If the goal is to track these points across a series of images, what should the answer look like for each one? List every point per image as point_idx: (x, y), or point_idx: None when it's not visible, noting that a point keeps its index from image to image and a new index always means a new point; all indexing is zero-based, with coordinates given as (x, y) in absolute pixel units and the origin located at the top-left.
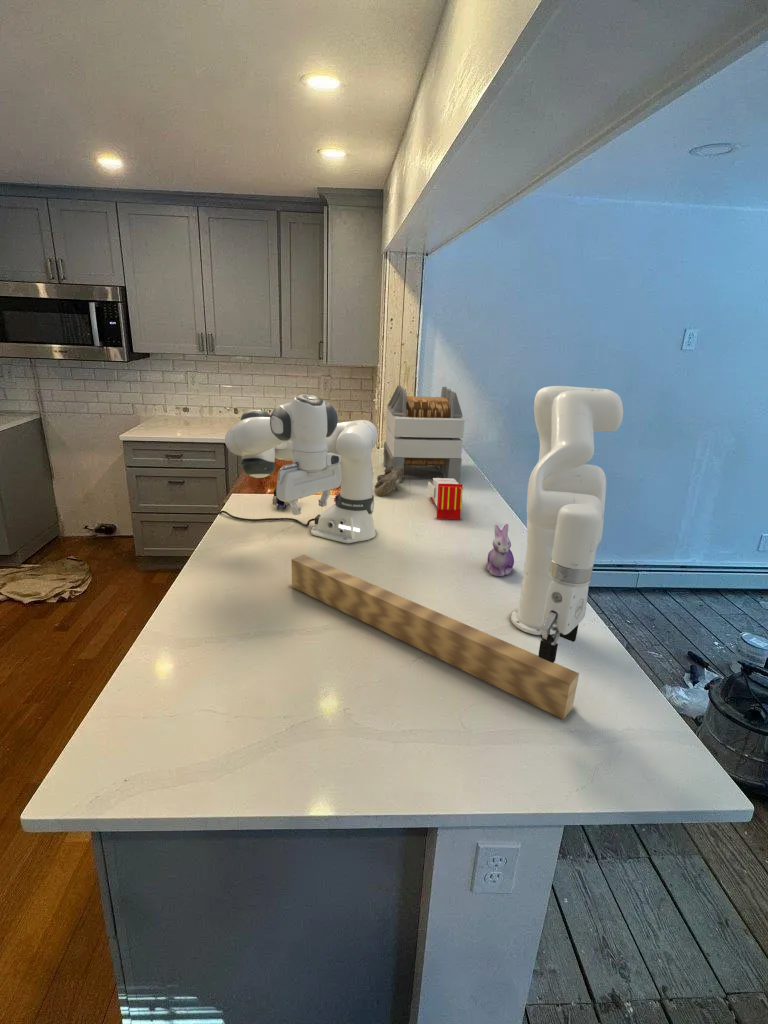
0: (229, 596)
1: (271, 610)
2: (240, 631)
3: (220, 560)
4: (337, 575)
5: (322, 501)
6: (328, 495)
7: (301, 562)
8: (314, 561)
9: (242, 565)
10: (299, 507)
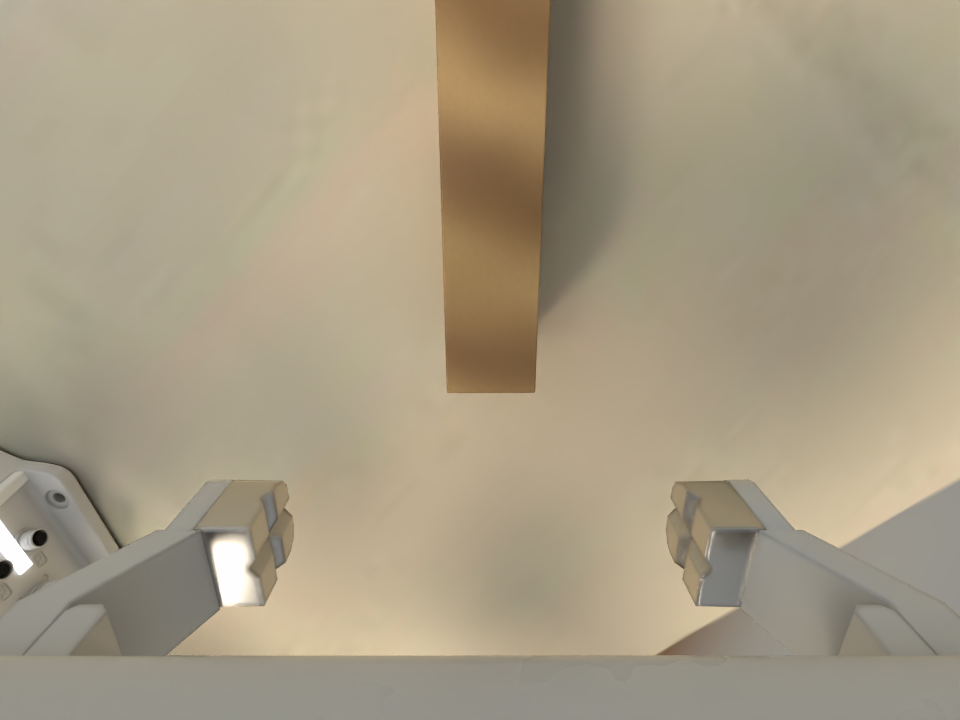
0: (730, 437)
1: (720, 245)
2: (917, 203)
3: (555, 645)
4: (503, 34)
5: (254, 534)
6: (88, 576)
7: (525, 329)
8: (465, 289)
9: (529, 579)
10: (708, 551)
